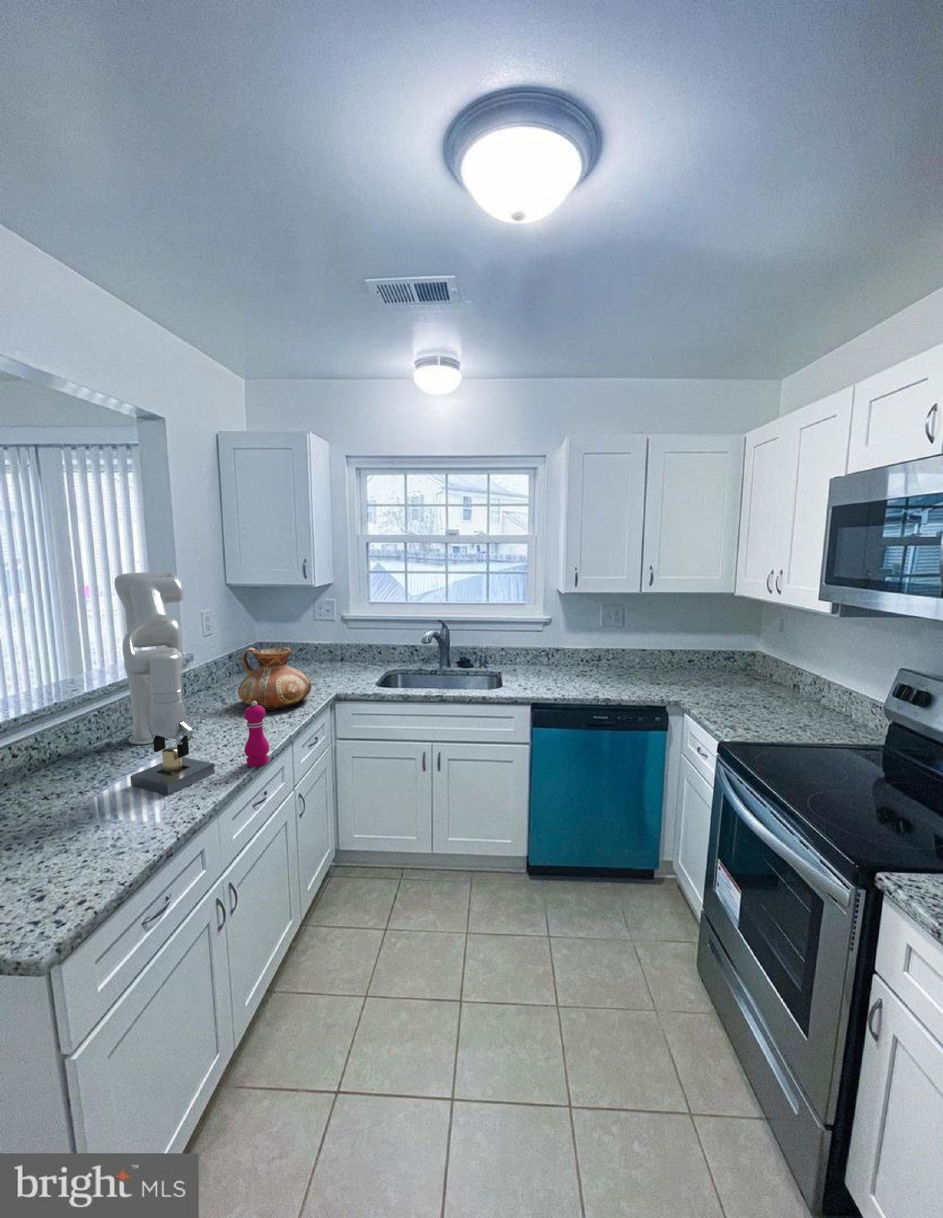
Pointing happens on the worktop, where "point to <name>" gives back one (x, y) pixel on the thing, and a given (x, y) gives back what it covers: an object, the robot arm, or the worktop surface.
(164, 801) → the worktop surface
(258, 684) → the jug
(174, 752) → the cylinder
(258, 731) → the pepper mill
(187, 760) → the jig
